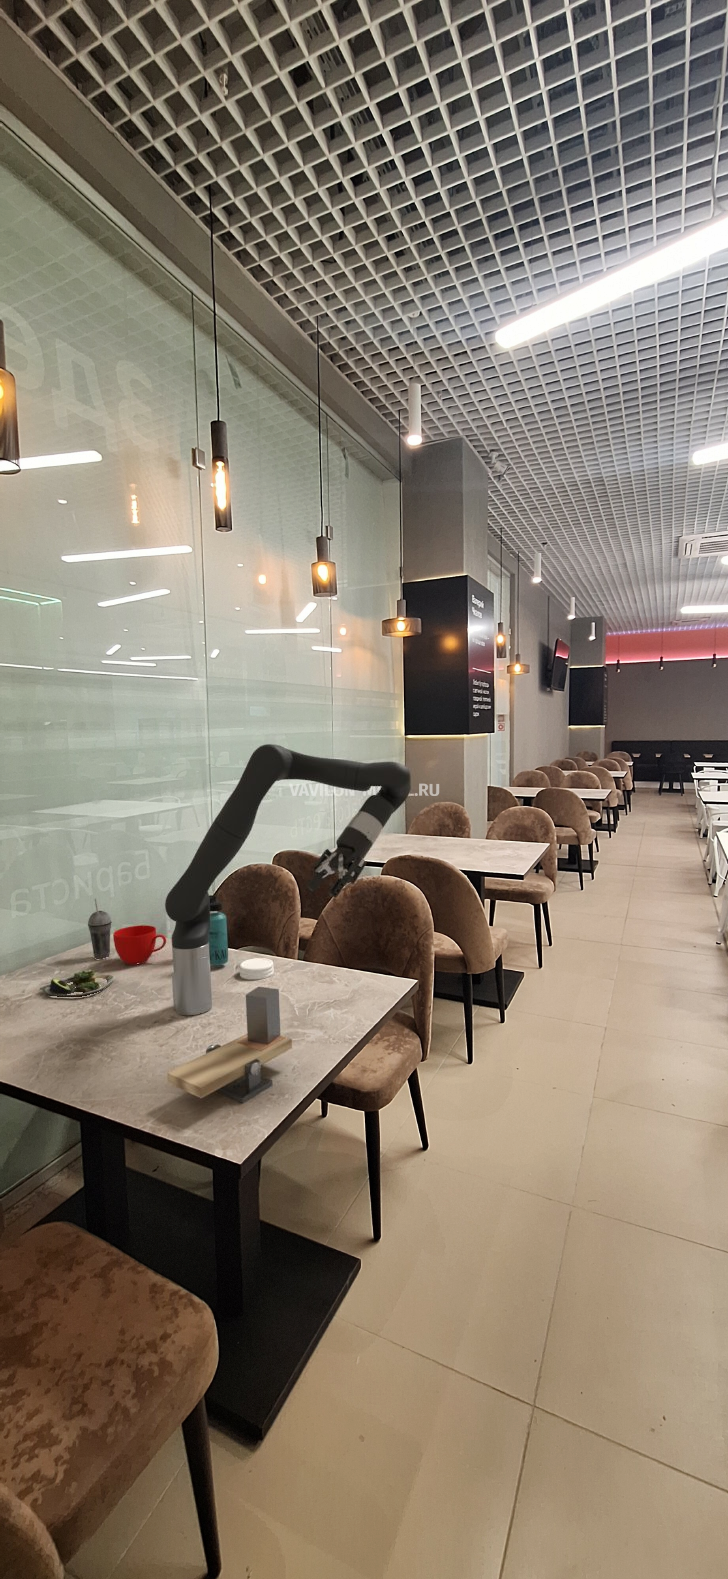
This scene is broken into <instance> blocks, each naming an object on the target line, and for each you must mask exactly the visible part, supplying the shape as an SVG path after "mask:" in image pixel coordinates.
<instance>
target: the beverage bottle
mask: <svg viewBox="0 0 728 1579" xmlns="http://www.w3.org/2000/svg"><path fill="white" fill-rule="evenodd" d="M210 911H217V912H216V913H211V914H210V931H209V956H210V966H220V965H225V964H226V963H228V961H229V944H228V930H227V929H228V928H227V927H228V926H227V916H226V914H224V913H223V912H221V911H223V904H222V902H221V901H220V902H219V901H216V902H214V903H210ZM219 911H220V912H219Z"/></svg>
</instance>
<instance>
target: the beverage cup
mask: <svg viewBox="0 0 728 1579" xmlns="http://www.w3.org/2000/svg"><path fill="white" fill-rule="evenodd" d="M94 903H95V910H96V911H94V912H93V913H92V914H91V915H90V916H89V918H88V920H87V926H88V930H89V933H90V939H91V946H92V951H93V952H92V953H93V956H94V959H95V958H96V959H103V958H106V957H109V958H110V953H111V928H112V919H111V917H110V915H109V913H107V912H106V911H105V910H99V906H98V900H97V898H94Z"/></svg>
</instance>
